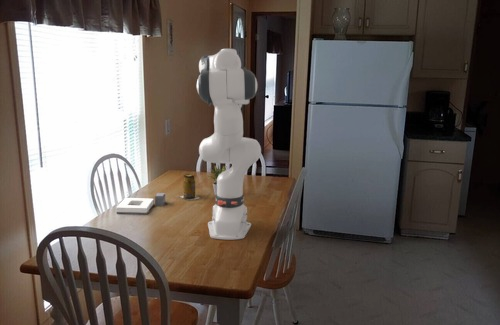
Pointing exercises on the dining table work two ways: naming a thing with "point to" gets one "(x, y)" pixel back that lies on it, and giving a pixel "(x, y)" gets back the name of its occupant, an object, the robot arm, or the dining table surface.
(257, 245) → the dining table surface
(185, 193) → the condiment
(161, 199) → the plug
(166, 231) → the dining table surface
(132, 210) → the socket
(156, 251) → the dining table surface
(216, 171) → the house plant
